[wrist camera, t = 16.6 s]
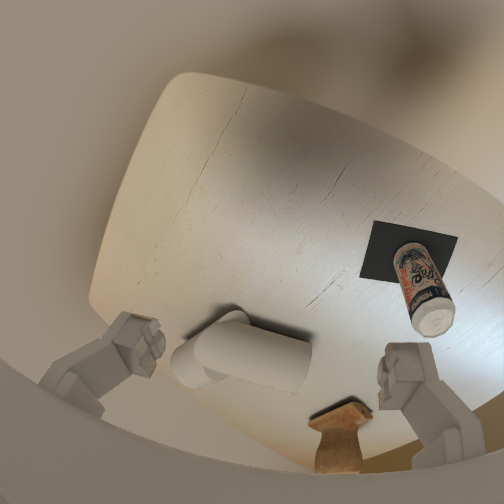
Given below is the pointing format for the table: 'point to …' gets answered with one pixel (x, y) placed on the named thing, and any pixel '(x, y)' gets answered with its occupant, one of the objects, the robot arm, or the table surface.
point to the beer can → (423, 291)
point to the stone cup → (340, 439)
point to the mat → (392, 239)
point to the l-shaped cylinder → (242, 356)
